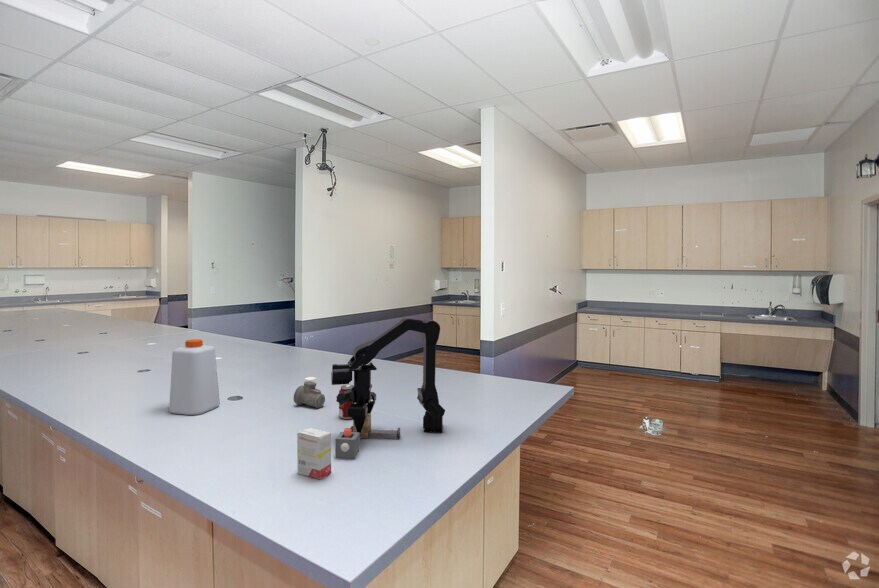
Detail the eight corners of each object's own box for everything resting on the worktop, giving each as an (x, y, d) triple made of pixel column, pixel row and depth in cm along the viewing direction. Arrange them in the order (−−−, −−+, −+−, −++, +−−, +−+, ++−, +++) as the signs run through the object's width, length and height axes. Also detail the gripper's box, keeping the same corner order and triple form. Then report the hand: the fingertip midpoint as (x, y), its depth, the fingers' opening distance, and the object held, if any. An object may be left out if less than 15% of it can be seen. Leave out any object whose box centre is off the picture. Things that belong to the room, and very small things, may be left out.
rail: (400, 436, 154) (400, 427, 154) (399, 439, 151) (399, 430, 151) (351, 434, 155) (351, 426, 155) (349, 437, 152) (349, 429, 152)
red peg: (352, 440, 139) (352, 428, 139) (350, 443, 137) (350, 430, 137) (345, 440, 139) (345, 427, 139) (343, 443, 137) (343, 430, 137)
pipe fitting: (291, 405, 185) (294, 381, 184) (304, 402, 192) (308, 378, 192) (313, 413, 180) (316, 388, 179) (326, 409, 187) (330, 385, 186)
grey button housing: (359, 451, 141) (359, 432, 141) (354, 459, 135) (354, 440, 135) (340, 450, 142) (340, 431, 141) (335, 458, 135) (335, 439, 135)
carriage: (370, 432, 156) (371, 413, 155) (367, 437, 151) (367, 418, 150) (356, 431, 156) (356, 413, 156) (353, 437, 151) (353, 417, 151)
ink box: (332, 473, 126) (332, 431, 125) (320, 480, 122) (320, 437, 121) (309, 466, 130) (309, 426, 129) (296, 473, 126) (296, 432, 125)
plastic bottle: (197, 417, 171) (196, 344, 169) (163, 413, 174) (162, 342, 172) (224, 405, 185) (223, 338, 184) (192, 402, 188) (191, 336, 187)
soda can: (339, 420, 169) (339, 389, 168) (338, 415, 175) (338, 384, 174) (357, 419, 170) (357, 388, 170) (355, 413, 177) (356, 383, 176)
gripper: (346, 375, 162) (346, 418, 163) (330, 389, 143) (330, 437, 144) (376, 376, 161) (376, 419, 162) (365, 390, 143) (364, 438, 144)
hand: (362, 427), depth 153 cm, fingers open, 9 cm apart
